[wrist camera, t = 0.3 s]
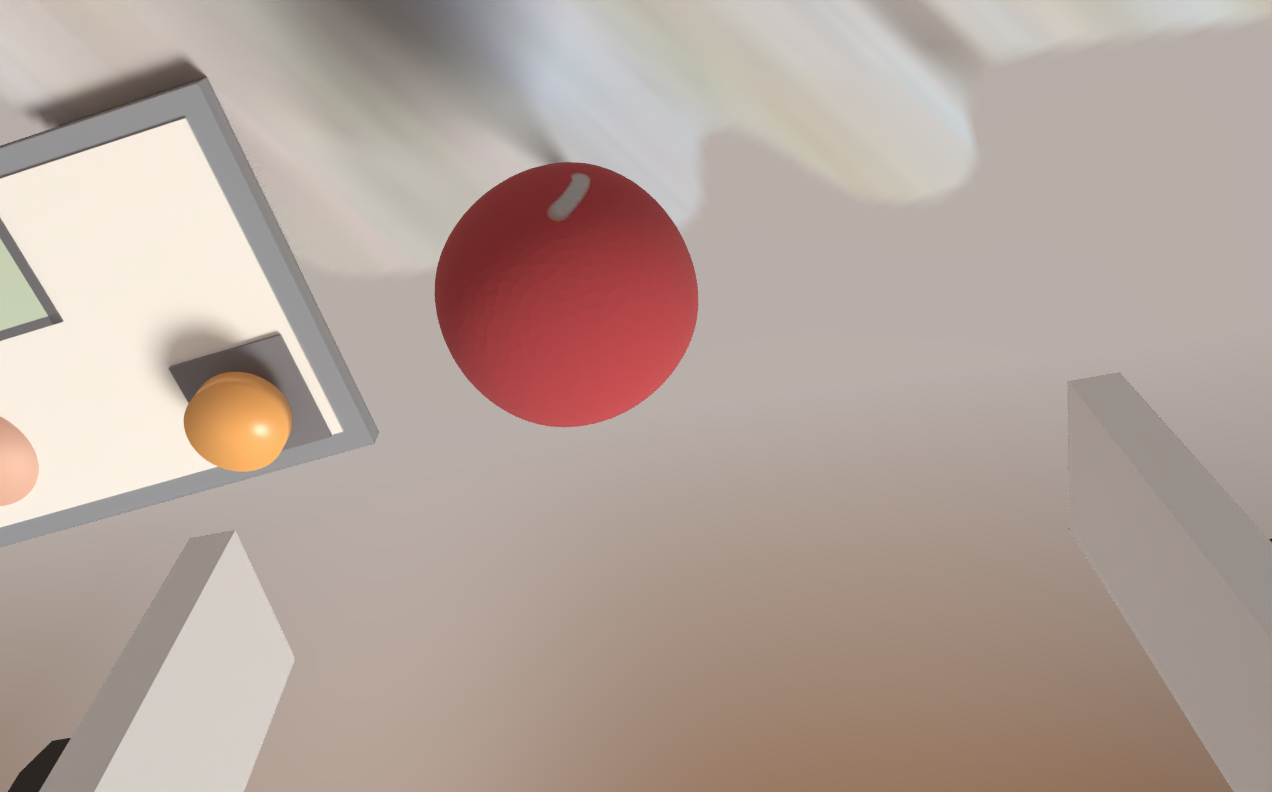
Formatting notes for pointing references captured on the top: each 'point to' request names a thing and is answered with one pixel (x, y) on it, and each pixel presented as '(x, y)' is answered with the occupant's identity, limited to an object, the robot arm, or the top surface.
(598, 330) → the lollipop
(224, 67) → the top surface
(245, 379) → the button
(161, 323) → the board
